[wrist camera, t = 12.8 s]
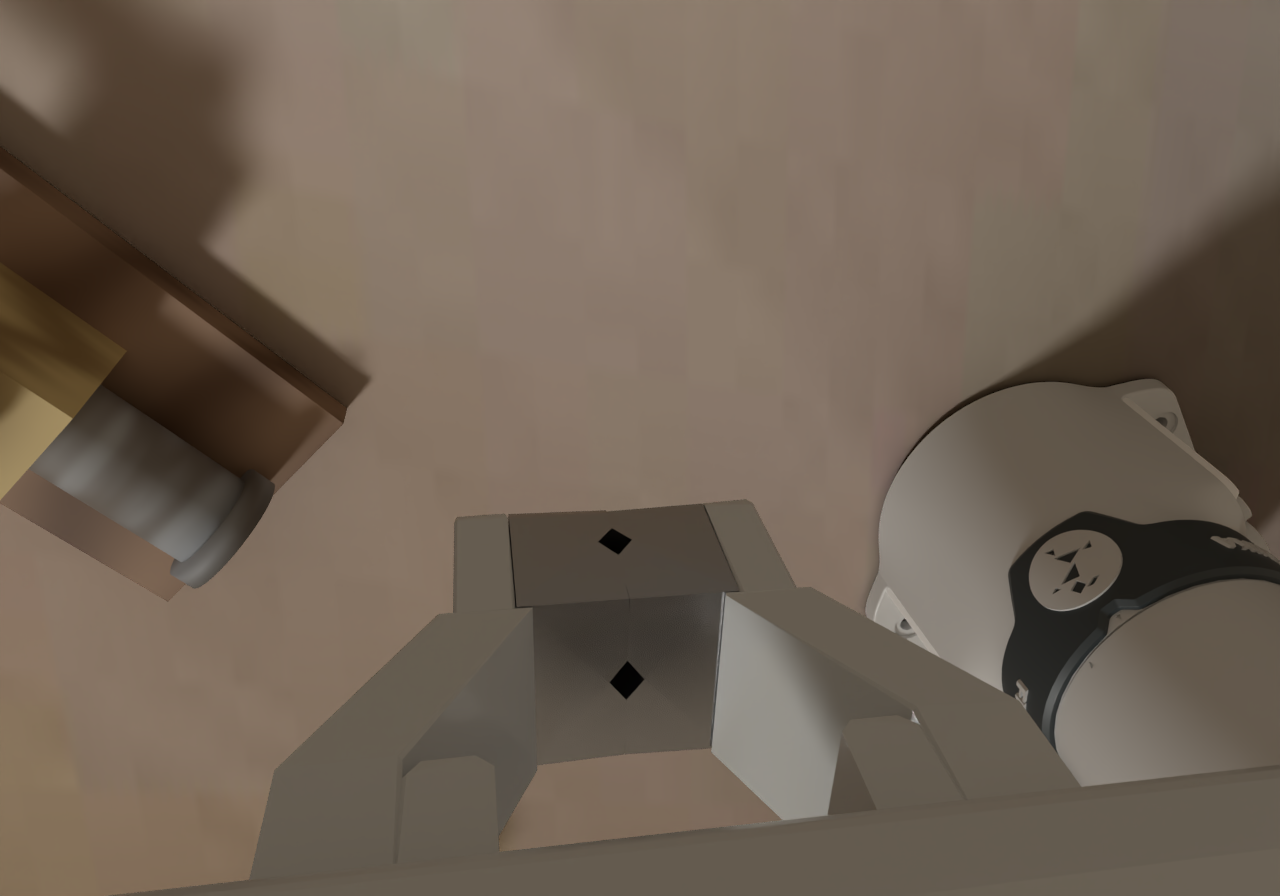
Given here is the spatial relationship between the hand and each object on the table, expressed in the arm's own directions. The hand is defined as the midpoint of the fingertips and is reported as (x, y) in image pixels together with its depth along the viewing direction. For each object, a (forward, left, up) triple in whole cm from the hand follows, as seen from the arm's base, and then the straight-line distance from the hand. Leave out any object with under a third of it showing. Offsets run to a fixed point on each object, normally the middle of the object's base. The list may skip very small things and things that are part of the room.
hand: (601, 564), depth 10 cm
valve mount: (+7, +20, -31) cm, 38 cm away
